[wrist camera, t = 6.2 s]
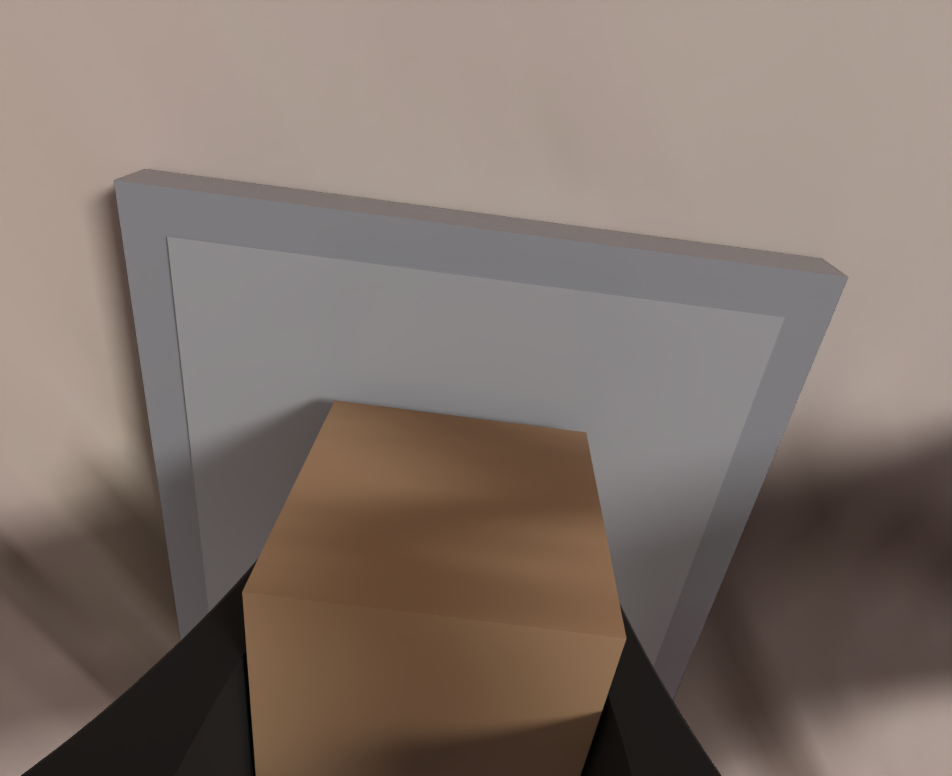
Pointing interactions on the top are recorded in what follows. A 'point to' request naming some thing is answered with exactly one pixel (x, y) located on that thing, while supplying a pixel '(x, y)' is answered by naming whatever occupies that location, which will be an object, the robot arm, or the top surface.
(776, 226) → the top surface
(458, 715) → the walnut block
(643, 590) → the slate tile
